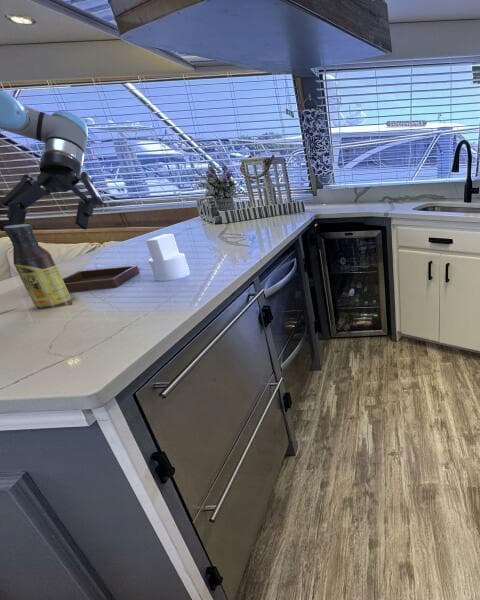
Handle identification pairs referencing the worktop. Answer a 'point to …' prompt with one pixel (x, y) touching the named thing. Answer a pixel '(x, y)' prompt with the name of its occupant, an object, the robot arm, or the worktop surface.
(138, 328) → the worktop surface
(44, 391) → the worktop surface
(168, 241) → the cylinder with rectangular tab
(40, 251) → the sauce bottle
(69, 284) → the tray
